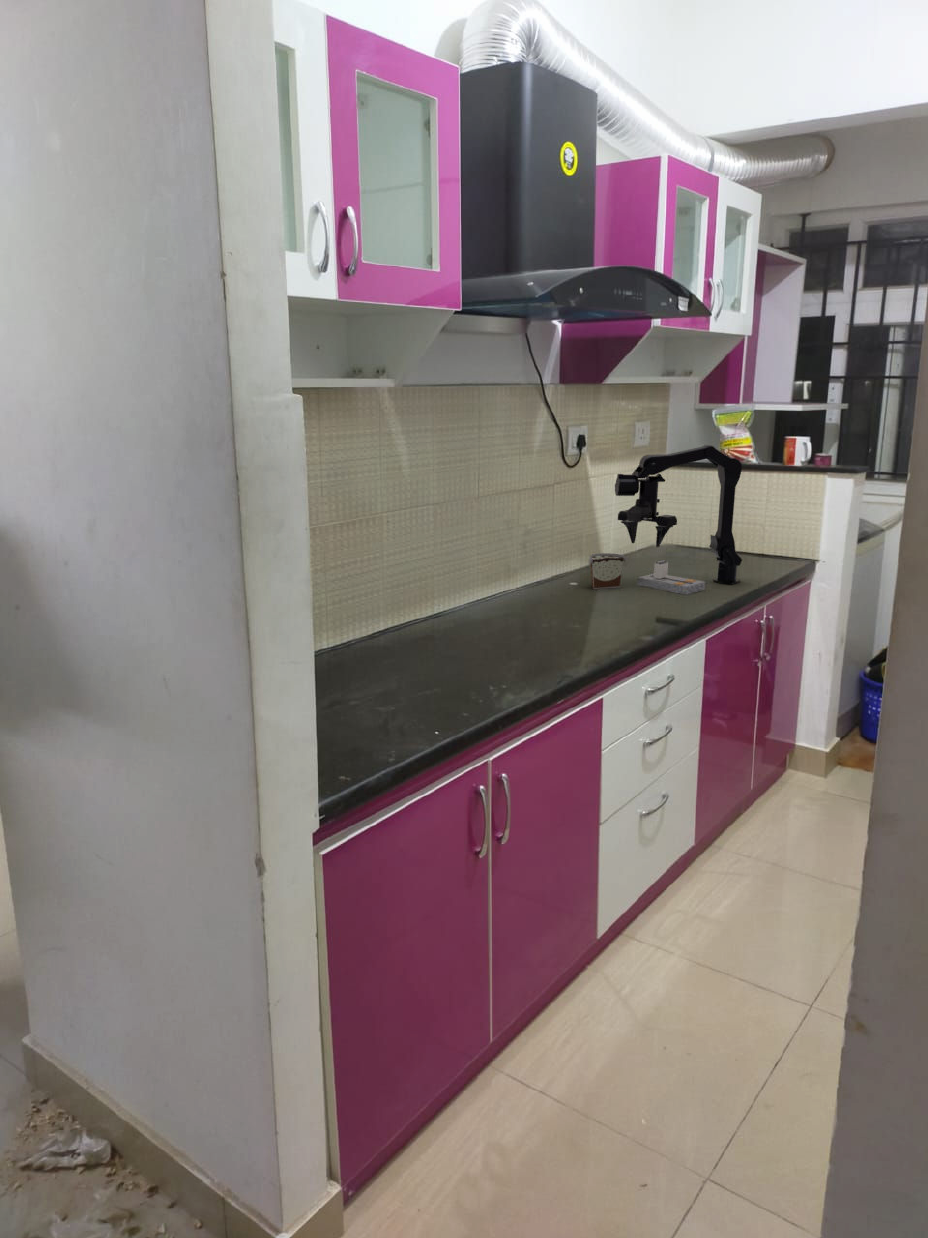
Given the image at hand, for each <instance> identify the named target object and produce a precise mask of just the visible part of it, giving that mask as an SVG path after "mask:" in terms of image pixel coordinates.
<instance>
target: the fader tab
mask: <svg viewBox="0 0 928 1238" xmlns="http://www.w3.org/2000/svg"><path fill="white" fill-rule="evenodd" d="M653 565H654V566H653V568H654V569H653V574H654V578H659V579H661V578H665V577H667V575H668V572H669V571H668V569H669V563H668V562H667V560H663V559H662V560H657V561H656V562H655V563H654V564H653Z"/></svg>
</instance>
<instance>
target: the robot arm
mask: <svg viewBox="0 0 928 1238" xmlns="http://www.w3.org/2000/svg"><path fill="white" fill-rule="evenodd" d="M703 460H707V461H709V462H710V464H712V465H714V466H715V467H717V468H716V469H717V476H718V480H719V485H720V493H719V503H718V504H719V506H718V519H717V522H718V523H717V531H716V532H715V534H714V535H713V534H711V535H710V538H709V539H710V544H709V548H710V549H711V550H710V551H711V553H712V554H713V555H714V556H715V557H716V558H715V559H716V561H718V569H717V578H715V579H713V580H712V582H713V583H714V582H715V583H720V584H725V585H733V584H736V583H740V582H742V581H741V579H737V576H738V575H737V574H738V566H741V563H742V561H743V559H742V558H741V556H740V555H739V554H737V552H736V543H735V538H734V534H733V523H734V521H733V520H734V511H735V510H734V509H735V498H736V497H735V495H736V487H737V485H738V482H739V480H740V478H741V474H742V471H743V470H742V469H743V464H742V462H741V461H740V459H738V458H736V457H731V456H729V455H726V454H724V452H722V451H720V450H718V449H717V448H716V447H714V446H713V445H710V444H704V445H702V446H699V447H693V448H691V449H686V450H681V451H676V452H673V453H667V454H666V453H665V454H664V453H663V454H661V453H660V454H658V453H657V454H646V455H643V456H642V457H641V458H640V460H639V463H638V464H639V465H638V466H637V467H636V468H635V470H634V471H633V472H632V474H624V473H617V475H616V476H617V477H616V479H615V483H614V494H615V496H616V497H635V495H636V494H638V498H636V501H635V505H633V506H631V507H630V508H629V509H625V510H621V511H619V512H618V514H617V521H620V523H621V524H624V526H625V527H626V530H627V532H628V535H629V539H630V542H631V544H635V542H636V538H637V531H638V524H639V523H641V522H644V521H645V522H652V523H656V526H655V529H656V537H655V538H656V539H655V544H656V545H655V546H656V548H660V546H661V544H662V542H663V540H664V538H665V536H666V535H667V534H668V532H669V530H670V529H671V528H673V527H674V526H677V525H678V519H677V517H676V515H669V514H662V515H660V514H659V513H660V512H659V511H658V504H659V503H660V500H661V499H660V498H658V495H659V494H658V493H659V483H665V482H666V479H665V478H664V477H663V475H662V474H661V473H662V472H664V471H667V470H668V469H670V468H672V467H676V466H681V465H684V464H688V463H689V464H691V463H694V462H699V461H703Z"/></svg>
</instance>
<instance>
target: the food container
mask: <svg viewBox="0 0 928 1238" xmlns="http://www.w3.org/2000/svg"><path fill="white" fill-rule="evenodd" d="M626 562H627V559H626V556H625V555H623V554H619V553H613V552H612V553H611V552H609V553H606V552H603V553H602V552H601V553H594V554H590V555H589V558H588V564H589V565H590V578H591V579H590V581H591V589H593V590H598V589H599V590H600V589H612V588H613V589H615V588H621V585H622V579H623V578H622V577H623V571H624V565H625V563H626Z"/></svg>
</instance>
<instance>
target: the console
mask: <svg viewBox="0 0 928 1238" xmlns="http://www.w3.org/2000/svg"><path fill="white" fill-rule="evenodd" d="M637 586H639V587H640V586H641V587H645V588H651V589H655V590H659V591H664V592H666V591H667V592H670V593H671V592H672V593H676V594H681V595H687V596H688V595H691V594H695V593H698V592H702V591H704V590H705V589H706V588H705V586H706V582H705V581H702V580H699V579H698V580H697V579H692V578H687V577H680V576H676V575H669V574H667V577H665V578H661V579H659V578H654V573H651V574H647V575H641V576H639V577H638V578H637Z"/></svg>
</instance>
